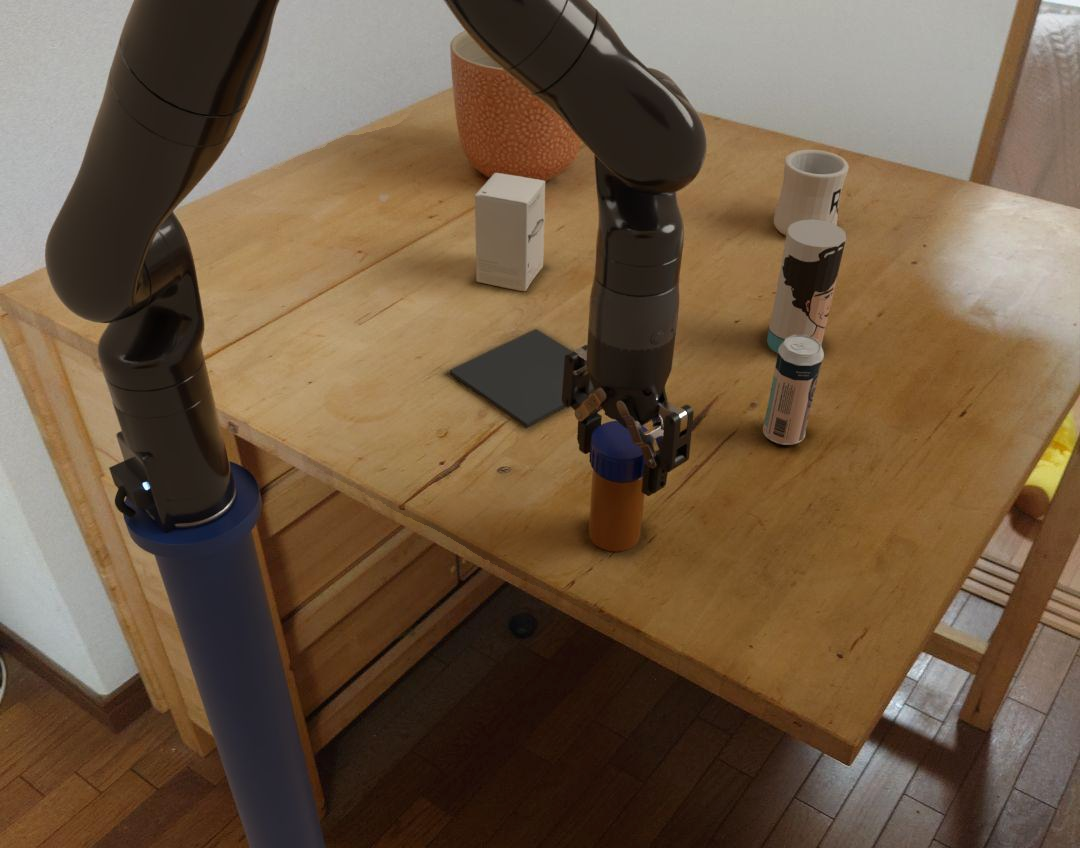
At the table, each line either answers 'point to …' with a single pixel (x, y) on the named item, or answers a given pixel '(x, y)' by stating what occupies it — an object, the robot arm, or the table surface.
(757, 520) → the table surface
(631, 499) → the jar
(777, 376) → the beer can
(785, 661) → the table surface
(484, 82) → the planter
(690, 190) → the table surface
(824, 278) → the white cylindrical canister
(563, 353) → the mat
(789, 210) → the mug
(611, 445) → the jar lid
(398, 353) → the table surface
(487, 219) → the white packaging box
